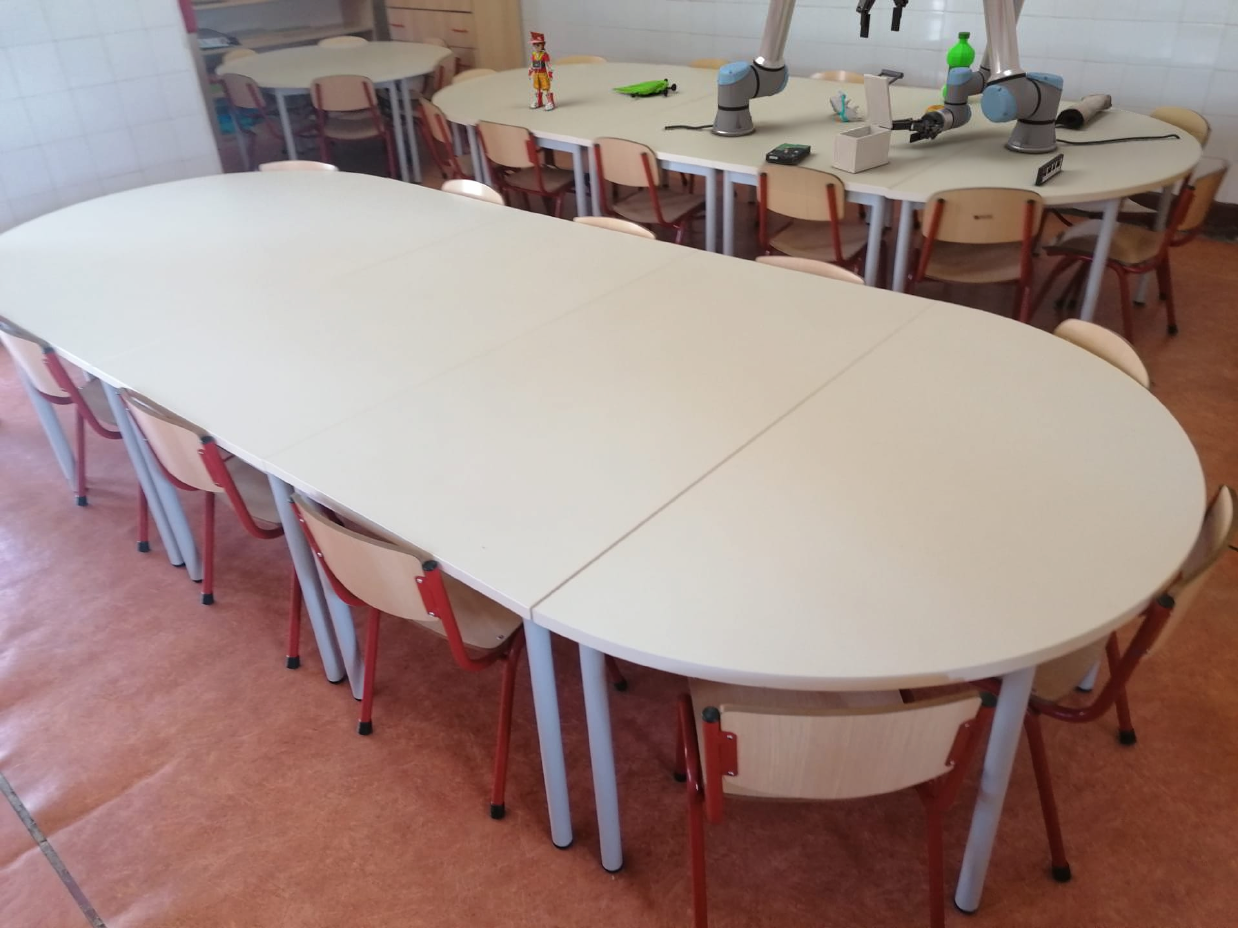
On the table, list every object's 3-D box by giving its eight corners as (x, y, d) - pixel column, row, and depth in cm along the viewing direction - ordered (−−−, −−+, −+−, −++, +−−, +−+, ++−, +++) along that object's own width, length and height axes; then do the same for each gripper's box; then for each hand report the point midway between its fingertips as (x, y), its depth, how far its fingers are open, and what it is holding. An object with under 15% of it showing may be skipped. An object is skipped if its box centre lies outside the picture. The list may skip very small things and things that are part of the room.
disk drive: (793, 166, 298) (810, 153, 308) (794, 157, 296) (811, 145, 306) (765, 162, 303) (782, 150, 313) (765, 154, 301) (783, 142, 311)
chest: (853, 173, 288) (857, 139, 282) (832, 167, 295) (835, 133, 289) (887, 163, 295) (891, 130, 289) (866, 157, 302) (869, 124, 296)
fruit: (919, 118, 325) (933, 97, 322) (920, 121, 333) (934, 101, 330) (938, 130, 323) (953, 110, 320) (939, 133, 331) (953, 114, 328)
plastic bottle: (973, 101, 354) (984, 32, 339) (955, 106, 349) (966, 36, 335) (952, 97, 361) (962, 29, 346) (934, 102, 356) (944, 33, 342)
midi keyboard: (1039, 185, 269) (1043, 168, 266) (1035, 184, 270) (1038, 168, 267) (1060, 170, 279) (1064, 154, 277) (1056, 169, 280) (1060, 153, 277)
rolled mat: (1079, 99, 336) (1104, 81, 328) (1092, 119, 337) (1117, 102, 329) (1048, 120, 319) (1073, 103, 311) (1062, 142, 319) (1088, 125, 311)
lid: (886, 79, 278) (905, 66, 280) (863, 75, 284) (882, 62, 286) (890, 128, 289) (908, 116, 291) (868, 123, 295) (886, 111, 297)
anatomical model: (825, 90, 346) (850, 83, 345) (827, 117, 352) (853, 110, 351) (835, 99, 333) (862, 92, 333) (838, 127, 339) (864, 120, 338)
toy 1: (525, 109, 381) (517, 32, 364) (534, 104, 388) (527, 28, 371) (550, 110, 377) (543, 32, 360) (559, 105, 384) (553, 28, 367)
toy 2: (686, 85, 398) (631, 84, 414) (685, 72, 395) (629, 72, 411) (651, 104, 381) (596, 103, 397) (650, 92, 378) (594, 91, 394)
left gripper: (867, -40, 254) (860, 41, 266) (926, -49, 265) (916, 29, 277) (848, -41, 259) (841, 39, 271) (906, -50, 270) (898, 27, 282)
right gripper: (964, 140, 301) (923, 153, 291) (904, 127, 318) (863, 139, 308) (968, 117, 296) (926, 130, 286) (907, 105, 313) (866, 116, 303)
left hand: (879, 34), depth 274 cm, fingers open, 13 cm apart
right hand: (894, 135), depth 297 cm, fingers open, 13 cm apart
